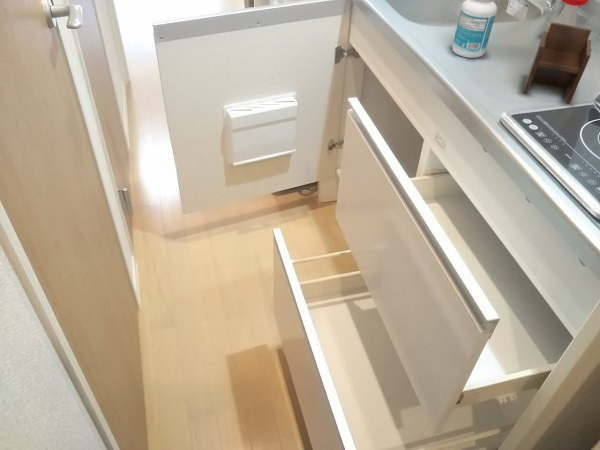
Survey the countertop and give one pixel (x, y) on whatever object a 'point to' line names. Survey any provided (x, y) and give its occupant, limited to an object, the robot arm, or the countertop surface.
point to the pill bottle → (474, 28)
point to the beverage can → (575, 2)
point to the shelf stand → (561, 57)
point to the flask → (567, 16)
